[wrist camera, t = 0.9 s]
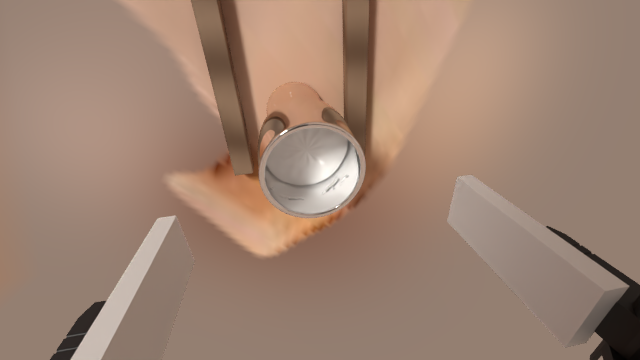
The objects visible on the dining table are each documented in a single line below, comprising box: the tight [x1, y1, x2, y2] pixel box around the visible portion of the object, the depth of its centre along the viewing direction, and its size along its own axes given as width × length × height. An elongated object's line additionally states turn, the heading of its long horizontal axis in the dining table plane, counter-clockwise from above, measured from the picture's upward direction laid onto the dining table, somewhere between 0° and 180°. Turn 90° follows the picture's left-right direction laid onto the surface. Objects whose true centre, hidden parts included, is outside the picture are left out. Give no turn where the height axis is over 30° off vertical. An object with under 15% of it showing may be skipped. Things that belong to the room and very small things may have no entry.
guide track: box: [191, 0, 369, 175], centre depth 24 cm, size 26×15×3 cm, turn 3°
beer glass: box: [258, 82, 366, 218], centre depth 22 cm, size 7×7×15 cm
